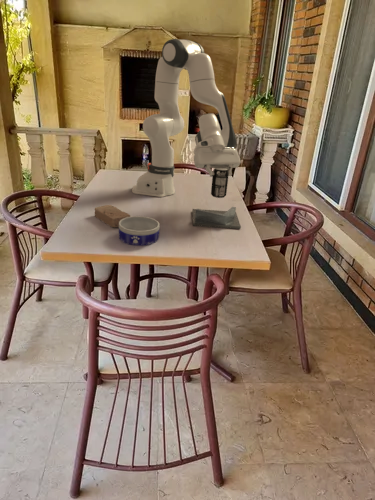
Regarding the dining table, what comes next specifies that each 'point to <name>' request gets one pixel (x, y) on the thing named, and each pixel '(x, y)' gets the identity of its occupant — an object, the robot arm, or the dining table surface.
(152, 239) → the dog bowl
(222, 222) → the v block
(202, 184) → the dining table surface
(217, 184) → the beverage can
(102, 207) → the brick
